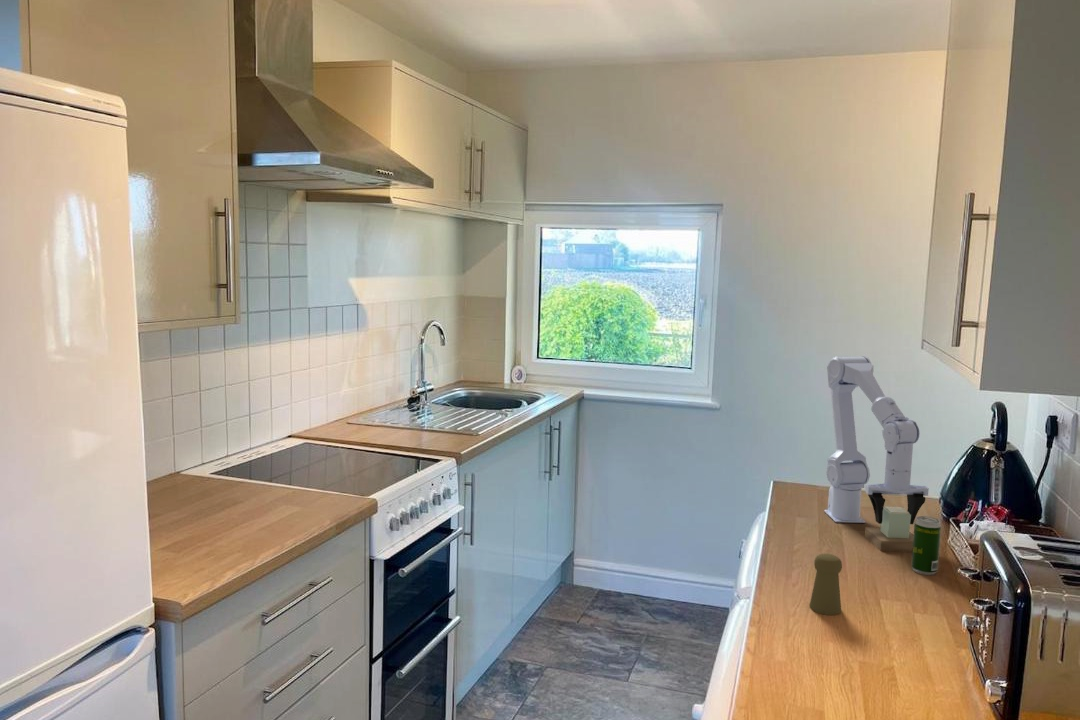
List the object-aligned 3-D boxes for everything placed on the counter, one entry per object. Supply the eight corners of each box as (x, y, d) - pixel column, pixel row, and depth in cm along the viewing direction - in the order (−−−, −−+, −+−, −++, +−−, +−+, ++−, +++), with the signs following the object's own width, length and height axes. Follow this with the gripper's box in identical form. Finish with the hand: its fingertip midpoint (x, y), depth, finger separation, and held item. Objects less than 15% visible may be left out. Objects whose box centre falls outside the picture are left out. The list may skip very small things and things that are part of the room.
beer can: (941, 571, 177) (945, 520, 175) (930, 577, 173) (934, 525, 172) (917, 564, 181) (921, 514, 179) (906, 570, 177) (910, 518, 176)
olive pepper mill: (826, 617, 153) (829, 563, 152) (802, 605, 158) (805, 553, 157) (848, 611, 156) (851, 558, 154) (824, 599, 161) (827, 548, 160)
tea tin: (880, 530, 196) (882, 505, 195) (900, 531, 196) (902, 506, 195) (887, 537, 191) (890, 512, 190) (908, 538, 191) (911, 513, 190)
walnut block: (864, 538, 199) (865, 527, 199) (904, 539, 199) (905, 528, 198) (880, 553, 189) (881, 541, 189) (922, 554, 189) (923, 542, 188)
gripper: (874, 472, 188) (870, 527, 189) (935, 474, 187) (931, 528, 189) (863, 465, 195) (860, 518, 196) (922, 466, 194) (918, 519, 196)
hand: (894, 522), depth 193 cm, fingers open, 7 cm apart
